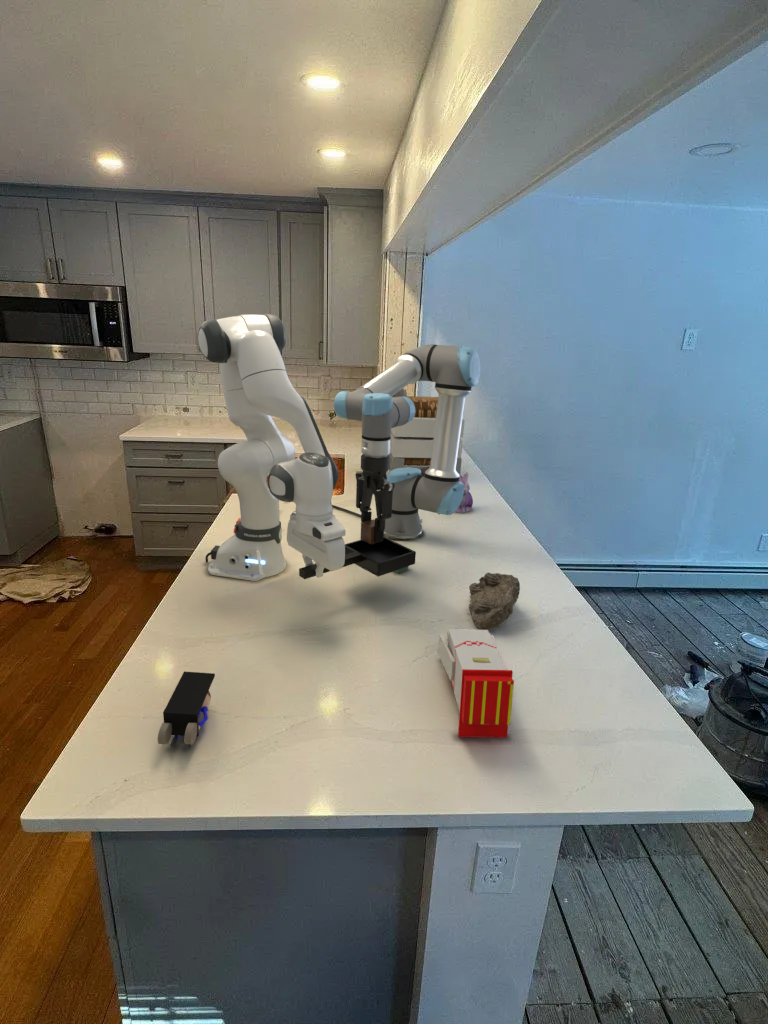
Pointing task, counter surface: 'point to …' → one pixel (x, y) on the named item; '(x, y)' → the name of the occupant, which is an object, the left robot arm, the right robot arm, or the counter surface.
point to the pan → (372, 557)
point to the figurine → (465, 496)
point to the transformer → (417, 435)
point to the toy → (478, 682)
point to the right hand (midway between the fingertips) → (372, 537)
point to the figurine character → (186, 708)
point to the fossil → (493, 599)
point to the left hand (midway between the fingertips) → (314, 573)
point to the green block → (401, 570)
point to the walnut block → (368, 531)
